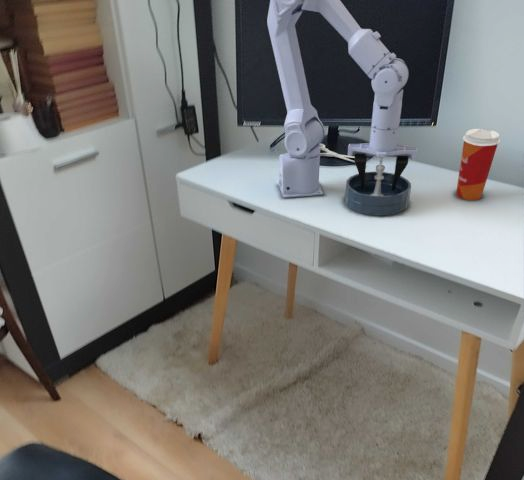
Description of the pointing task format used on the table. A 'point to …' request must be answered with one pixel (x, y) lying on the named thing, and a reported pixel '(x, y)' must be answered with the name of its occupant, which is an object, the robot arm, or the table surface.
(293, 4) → the robot arm
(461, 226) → the table surface
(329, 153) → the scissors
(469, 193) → the paper cup
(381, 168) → the chess piece
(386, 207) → the bowl
